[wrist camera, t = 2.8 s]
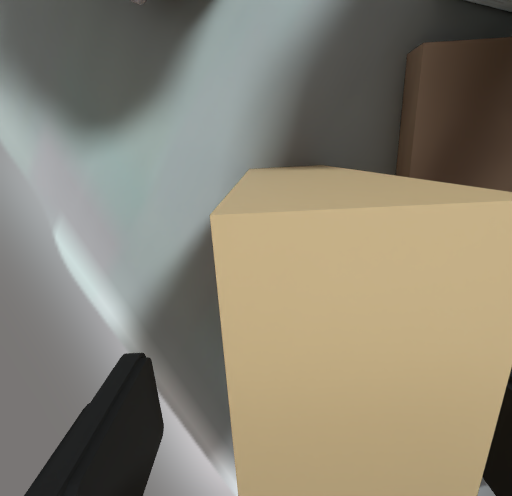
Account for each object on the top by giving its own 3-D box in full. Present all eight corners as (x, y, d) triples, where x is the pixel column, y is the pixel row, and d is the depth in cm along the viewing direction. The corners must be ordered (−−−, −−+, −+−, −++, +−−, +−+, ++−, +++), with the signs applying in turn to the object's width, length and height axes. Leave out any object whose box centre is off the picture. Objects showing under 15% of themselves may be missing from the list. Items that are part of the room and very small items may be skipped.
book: (322, 165, 16) (557, 199, 3) (319, 349, 19) (423, 695, 7) (249, 168, 16) (209, 215, 3) (259, 351, 19) (258, 696, 7)
